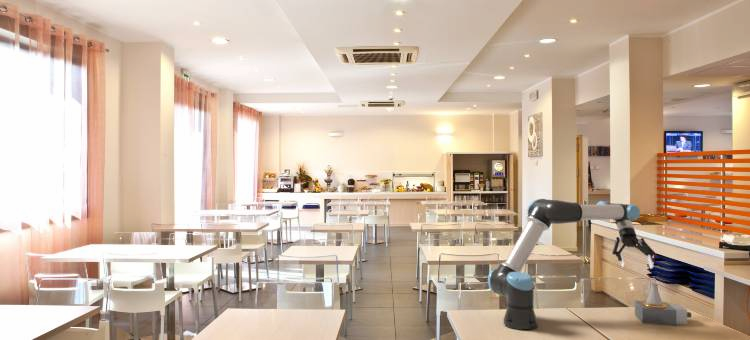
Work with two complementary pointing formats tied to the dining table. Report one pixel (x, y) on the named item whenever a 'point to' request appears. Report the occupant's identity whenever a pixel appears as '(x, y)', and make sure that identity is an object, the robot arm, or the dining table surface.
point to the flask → (654, 296)
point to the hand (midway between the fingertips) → (638, 267)
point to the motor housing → (661, 313)
